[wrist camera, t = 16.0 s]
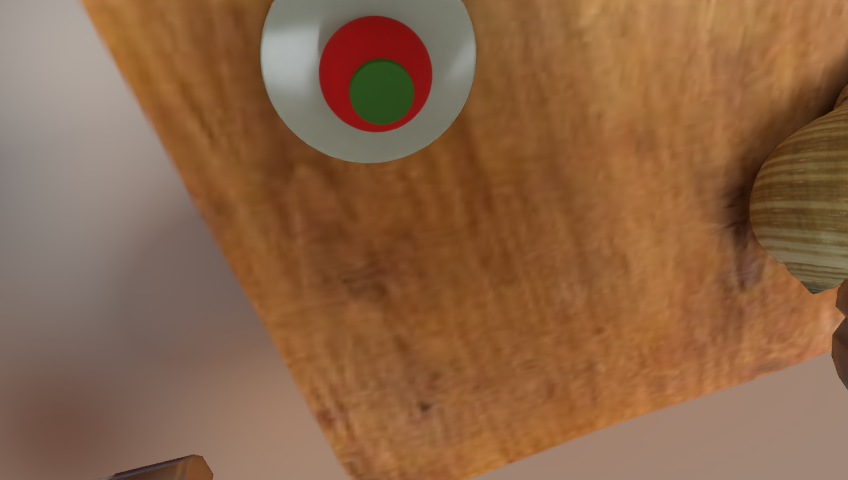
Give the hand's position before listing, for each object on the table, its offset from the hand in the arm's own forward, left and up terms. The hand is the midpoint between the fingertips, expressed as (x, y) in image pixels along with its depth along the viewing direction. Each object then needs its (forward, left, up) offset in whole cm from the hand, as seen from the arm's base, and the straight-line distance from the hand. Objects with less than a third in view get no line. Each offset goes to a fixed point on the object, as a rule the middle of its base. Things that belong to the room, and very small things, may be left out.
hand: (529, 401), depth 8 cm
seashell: (-8, -16, -17) cm, 25 cm away
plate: (+1, +1, -17) cm, 17 cm away
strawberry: (+1, +1, -16) cm, 16 cm away
